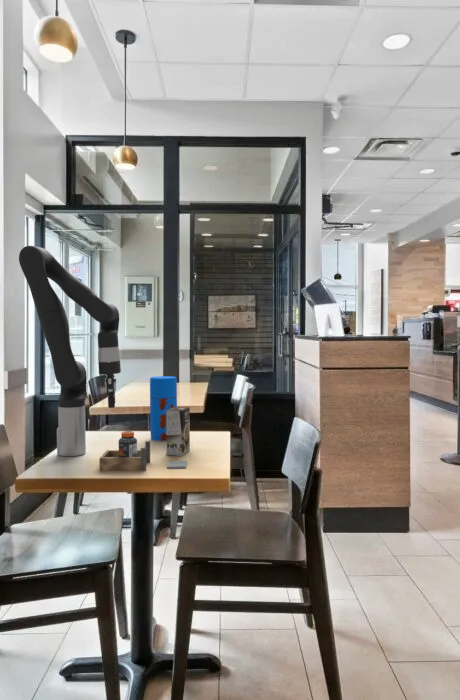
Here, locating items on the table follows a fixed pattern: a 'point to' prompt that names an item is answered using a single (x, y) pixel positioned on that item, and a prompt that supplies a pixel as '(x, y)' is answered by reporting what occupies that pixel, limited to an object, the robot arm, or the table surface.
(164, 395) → the thermos
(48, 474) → the table surface
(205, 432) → the table surface
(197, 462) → the table surface
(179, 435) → the coffee box
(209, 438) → the table surface
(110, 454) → the wooden u-shaped frame
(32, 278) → the robot arm
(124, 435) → the pill bottle
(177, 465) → the mat
